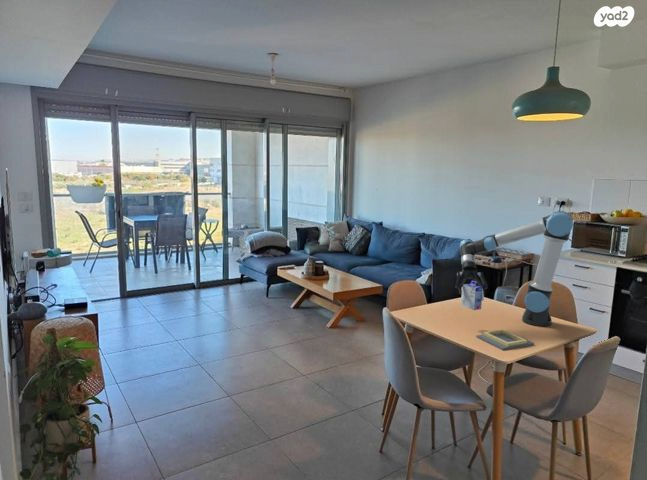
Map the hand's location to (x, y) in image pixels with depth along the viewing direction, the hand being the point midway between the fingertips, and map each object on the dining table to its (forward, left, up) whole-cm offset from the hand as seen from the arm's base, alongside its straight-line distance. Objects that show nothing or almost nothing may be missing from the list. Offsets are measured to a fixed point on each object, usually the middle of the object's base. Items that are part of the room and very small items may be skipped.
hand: (472, 299), depth 234 cm
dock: (-14, +13, -17) cm, 26 cm away
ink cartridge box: (0, -3, -6) cm, 6 cm away
